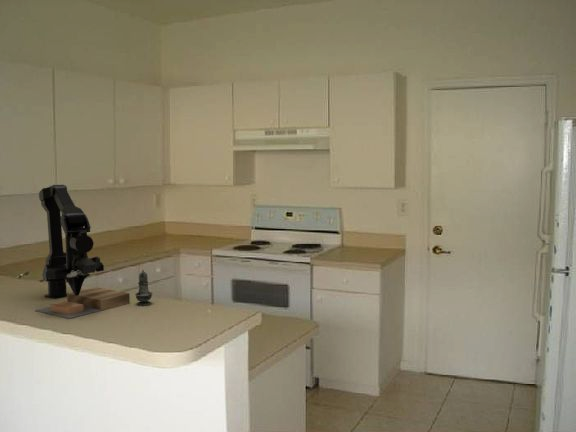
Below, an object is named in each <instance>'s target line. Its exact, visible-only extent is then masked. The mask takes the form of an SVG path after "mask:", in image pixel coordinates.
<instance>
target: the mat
mask: <svg viewBox="0 0 576 432" xmlns="http://www.w3.org/2000/svg"><path fill="white" fill-rule="evenodd" d="M83 307H84V311H80V312H76V313H72V314H69V315H67V314H63V313H58V312H54V311H51V310H50V306H47V307H44V308H43V307H42V308H39V309H36V310H35V312H38V313H43V314H46V315H51V316H55V317H59V318H64V319H68V320H71V319H75V318H79V317H83V316H86V315H90V314H94V313H99V312H102V311H101V310H100V309H95V308H90V307H86V306H83Z"/></svg>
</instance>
